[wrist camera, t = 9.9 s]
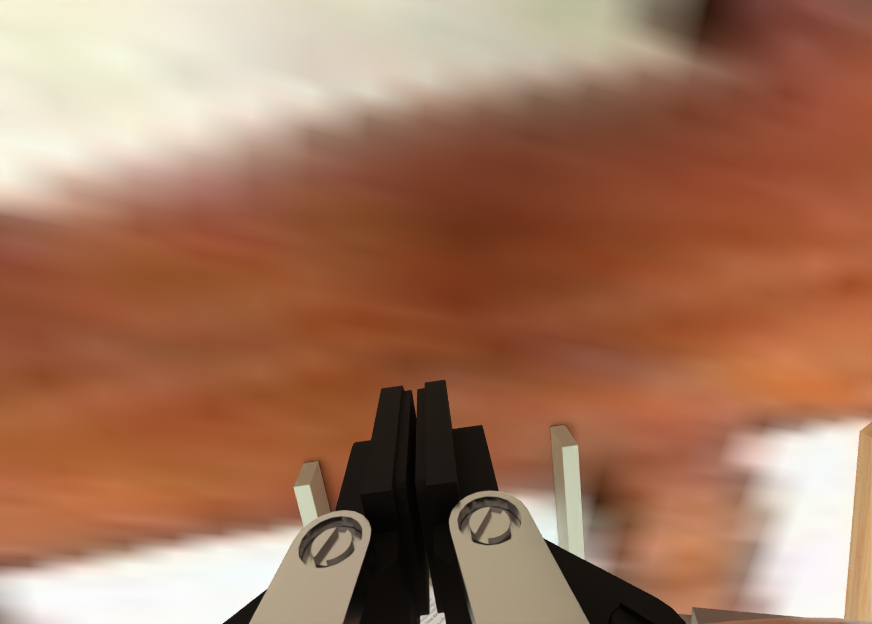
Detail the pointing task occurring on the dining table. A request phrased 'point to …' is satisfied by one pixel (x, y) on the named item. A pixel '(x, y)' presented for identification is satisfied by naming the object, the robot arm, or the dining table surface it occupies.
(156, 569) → the dining table surface
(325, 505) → the open-sided frame
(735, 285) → the dining table surface
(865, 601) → the cutting board
